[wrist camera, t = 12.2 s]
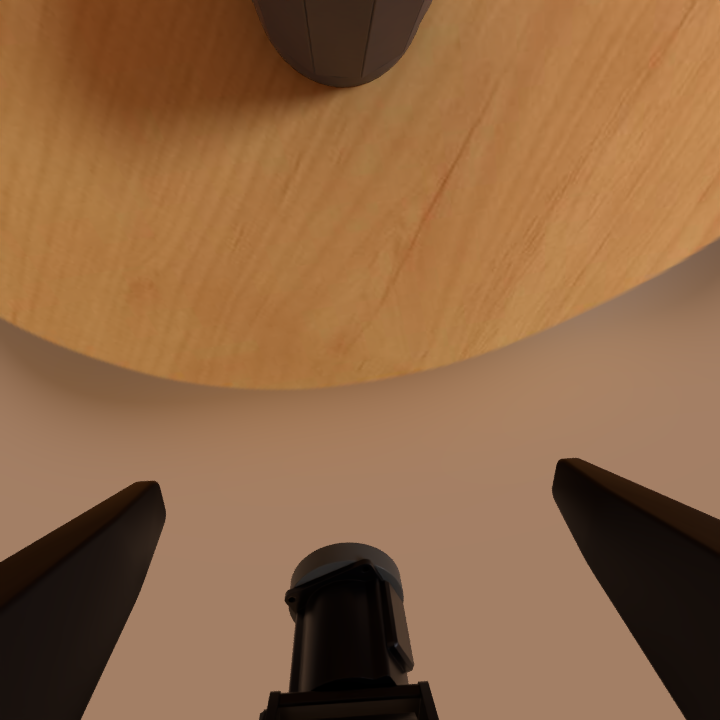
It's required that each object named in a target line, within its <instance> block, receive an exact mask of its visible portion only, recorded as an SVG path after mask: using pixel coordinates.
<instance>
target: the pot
mask: <svg viewBox="0 0 720 720" xmlns="http://www.w3.org/2000/svg"><path fill="white" fill-rule="evenodd" d="M252 2H253V4H254V6H255V8H256V11H257V14H258V16H259V19H260V21H261V24H262V26H263V28H264V30H265V32H266V34H267V36H268V38H269V39H270V41H271V43H272V44H273V46H274V47H275V48H276V50H277V51H278V53H279V54H280V55H281V56H282V57H283V58H284V59H285V61H286V62H287V63H288V64H290V65H291V66H292V67H293V68H294V69H295V70H297V71H298V72H300V73H301V74H302V75H304V76H305V77H307V78H309V79H311V80H313V81H315V82H318V83H321V84H324V85H328V86H335V87H351V86H358V85H361V84H364V83H368V82H370V81H372V80H374V79H376V78H378V77H380V76H381V75H383V74H384V73H385V72H387V71H388V70H389V69H390V68H391V67H393V66H394V65H395V64H396V63H397V62H398V60H399V59H400V58H401V57H402V56H403V54H404V53H405V52H406V50H407V48H408V47H409V45H410V44H411V42H412V40H413V38H414V36H415V34H416V32H417V30H418V27H419V25H420V23H421V21H422V19H423V17H424V15H425V14H426V12H427V10H428V8H429V7H430V4H431V2H432V0H252Z"/></svg>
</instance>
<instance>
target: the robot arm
mask: <svg viewBox="0 0 720 720" xmlns="http://www.w3.org/2000/svg"><path fill="white" fill-rule="evenodd" d="M552 493H553V498H554V500H555V502H556V504H557V506H558V508H559V510H560V512H561V514H562V516H563V518H564V520H565V522H566V524H567V525H568V527H569V529H570V531H571V533H572V535H573V537H574V539H575V541H576V543H577V545H578V547H579V549H580V551H581V553H582V555H583V556H584V558H585V560H586V562H587V564H588V565H589V567H590V569H591V570H592V572H593V574H594V575H595V577H596V578H597V580H598V581H599V583H600V584H601V586H602V588H603V589H604V591H605V592H606V594H607V596H608V597H609V599H610V600H611V602H612V603H613V605H614V607H615V608H616V610H617V611H618V613H619V615H620V616H621V618H622V619H623V621H624V622H625V624H626V625H627V627H628V629H629V630H630V632H631V633H632V635H633V636H634V638H635V640H636V641H637V643H638V645H639V646H640V648H641V649H642V651H643V652H644V654H645V656H646V657H647V659H648V660H649V662H650V663H651V665H652V667H653V668H654V670H655V671H656V673H657V674H658V676H659V678H660V679H661V681H662V682H663V684H664V685H665V687H666V689H667V690H668V692H669V693H670V695H671V697H672V698H673V700H674V701H675V703H676V704H677V706H678V708H679V709H680V710H681V712H682V714H683V715H684V717H685V719H686V720H720V520H719V519H717V518H714V517H712V516H710V515H708V514H705V513H703V512H701V511H699V510H696V509H694V508H691V507H689V506H687V505H685V504H682V503H680V502H678V501H676V500H673V499H671V498H669V497H666V496H664V495H662V494H659V493H657V492H655V491H653V490H650V489H648V488H646V487H643V486H641V485H639V484H636V483H634V482H632V481H630V480H627V479H625V478H623V477H620V476H618V475H616V474H614V473H611V472H609V471H607V470H604V469H602V468H600V467H597V466H595V465H593V464H591V463H588V462H586V461H584V460H581V459H579V458H567V459H560V460H559V461H558V463H557V465H556V470H555V475H554V481H553V486H552ZM165 519H166V510H165V506H164V502H163V497H162V493H161V490H160V486H159V484H158V483H157V482H156V481H140V482H135V483H133V484H132V485H130V486H128V487H127V488H125V489H123V490H122V491H120V492H118V493H117V494H115V495H113V496H111V497H110V498H108V499H106V500H105V501H103V502H101V503H100V504H98V505H96V506H95V507H93V508H92V509H90V510H88V511H86V512H84V513H83V514H81V515H79V516H78V517H76V518H74V519H73V520H71V521H69V522H68V523H66V524H64V525H63V526H61V527H59V528H57V529H56V530H54V531H52V532H51V533H49V534H47V535H46V536H44V537H43V538H41V539H39V540H37V541H35V542H34V543H32V544H31V545H29V546H27V547H25V548H24V549H22V550H20V551H19V552H17V553H16V554H14V555H12V556H10V557H8V558H7V559H5V560H4V561H2V562H0V720H81V718H82V716H83V714H84V711H85V709H86V707H87V705H88V703H89V701H90V699H91V696H92V694H93V692H94V690H95V688H96V686H97V683H98V681H99V679H100V677H101V675H102V673H103V671H104V668H105V666H106V664H107V662H108V660H109V658H110V656H111V654H112V652H113V649H114V647H115V645H116V643H117V641H118V639H119V637H120V634H121V632H122V630H123V628H124V626H125V624H126V622H127V619H128V617H129V615H130V613H131V611H132V609H133V606H134V604H135V602H136V600H137V598H138V595H139V592H140V590H141V588H142V585H143V582H144V580H145V577H146V574H147V571H148V568H149V565H150V563H151V560H152V557H153V554H154V551H155V549H156V546H157V543H158V540H159V537H160V534H161V532H162V529H163V526H164V523H165ZM285 602H286V604H287V605H288V606H289V607H290V609H291V610H292V611H293V612H294V613H295V615H296V623H295V633H294V643H293V653H292V664H291V674H290V684H289V693H281V691H274V692H273V691H272V692H270V696H269V701H268V706H267V709H266V710H264V711H263V712H262V713H260V718H259V720H439V718H438V715H437V711H436V708H435V704H434V701H433V697H432V694H431V690H430V687H429V683H428V681H421V682H418V684H408V677H407V672H410V671H412V669H413V666H414V662H413V656H412V650H411V645H410V639H409V634H408V628H407V623H406V617H405V611H404V606H403V603H402V601H401V599H400V598H399V596H398V595H397V593H396V592H395V590H394V589H393V587H392V586H391V584H390V583H389V582H388V581H386V580H384V579H383V578H382V576H381V575H380V573H379V572H378V570H377V569H376V567H375V566H374V564H373V563H372V561H371V560H369V559H361V560H359V561H356V562H354V563H352V564H349V565H347V566H345V567H342V568H340V569H337V570H335V571H333V572H330V573H328V574H325V575H323V576H321V577H318V578H316V579H313V580H311V581H309V582H306V583H304V584H302V585H299V586H297V587H294V588H292V589H290V590H288V591H287V592H286V594H285Z"/></svg>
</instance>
